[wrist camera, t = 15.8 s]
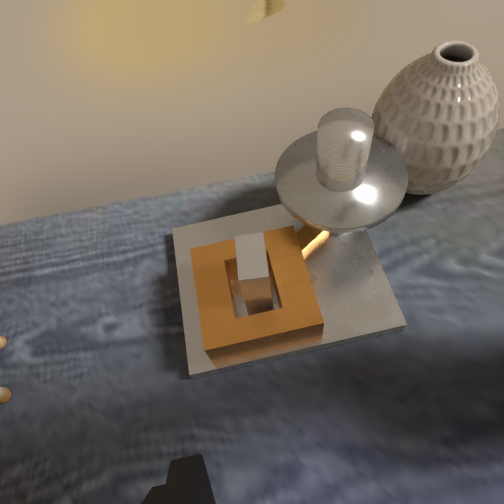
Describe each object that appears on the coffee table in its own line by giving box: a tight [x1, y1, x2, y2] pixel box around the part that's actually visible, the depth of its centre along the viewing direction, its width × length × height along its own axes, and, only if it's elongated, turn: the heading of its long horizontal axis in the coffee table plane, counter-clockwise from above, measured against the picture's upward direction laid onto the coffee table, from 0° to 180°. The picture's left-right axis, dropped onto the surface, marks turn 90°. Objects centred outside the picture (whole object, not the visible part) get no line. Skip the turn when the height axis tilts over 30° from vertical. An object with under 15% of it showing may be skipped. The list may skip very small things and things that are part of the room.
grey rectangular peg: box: [235, 232, 274, 316], centre depth 38 cm, size 2×4×10 cm, turn 5°
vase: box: [371, 41, 499, 195], centre depth 44 cm, size 13×13×17 cm
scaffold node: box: [172, 108, 408, 379], centre depth 39 cm, size 26×20×16 cm
